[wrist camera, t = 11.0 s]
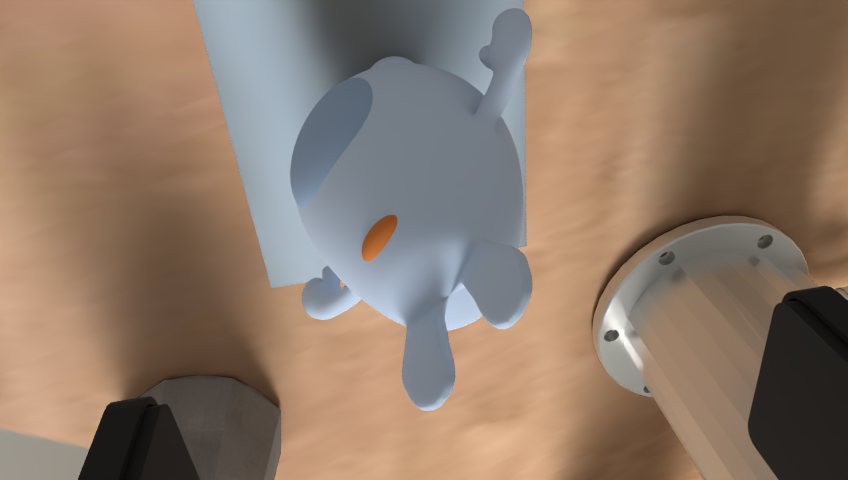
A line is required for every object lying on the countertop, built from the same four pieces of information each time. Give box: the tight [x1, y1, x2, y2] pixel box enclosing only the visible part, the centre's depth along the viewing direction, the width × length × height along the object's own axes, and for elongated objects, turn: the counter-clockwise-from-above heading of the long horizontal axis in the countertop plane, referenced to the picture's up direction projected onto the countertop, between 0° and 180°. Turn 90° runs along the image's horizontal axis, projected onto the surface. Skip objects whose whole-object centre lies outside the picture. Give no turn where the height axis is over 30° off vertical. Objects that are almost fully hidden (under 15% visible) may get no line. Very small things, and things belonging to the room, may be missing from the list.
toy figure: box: [290, 8, 532, 411], centre depth 17 cm, size 11×6×12 cm, turn 145°
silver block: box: [193, 0, 527, 288], centre depth 25 cm, size 10×14×7 cm
